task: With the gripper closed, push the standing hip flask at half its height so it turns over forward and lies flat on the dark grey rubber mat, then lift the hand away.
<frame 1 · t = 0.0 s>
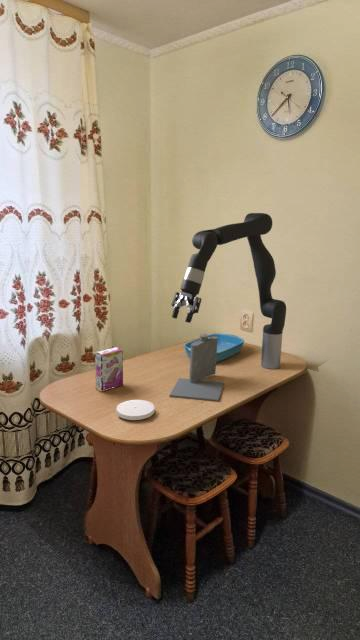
hand: (180, 320, 171), 31 cm above the table, tool tilted 20°, fingers open, 8 cm apart
hip flask: (201, 377, 194), point 1 cm above the table, touching mat
plastic lid: (135, 414, 162), on the table
casserole dish: (214, 355, 229), on the table
mat: (197, 390, 183), on the table
candy bar box: (110, 387, 185), on the table
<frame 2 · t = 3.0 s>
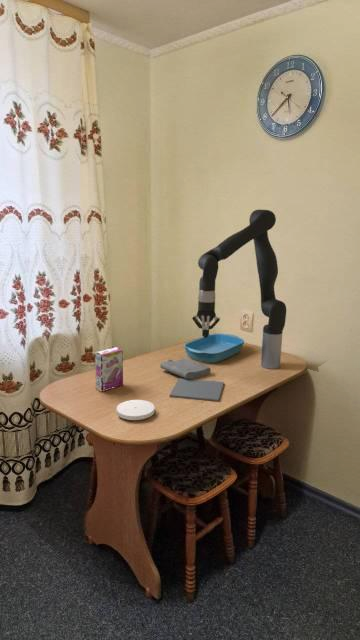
hand: (205, 337, 197), 18 cm above the table, tool pointing down, fingers closed
hip flask: (198, 374, 196), point 2 cm above the table, touching mat
everything else where it was.
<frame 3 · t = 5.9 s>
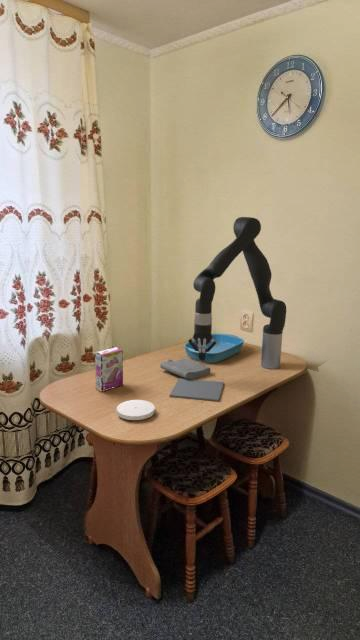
hand: (202, 360, 192), 9 cm above the table, tool pointing down, fingers closed
nothing on the table moved.
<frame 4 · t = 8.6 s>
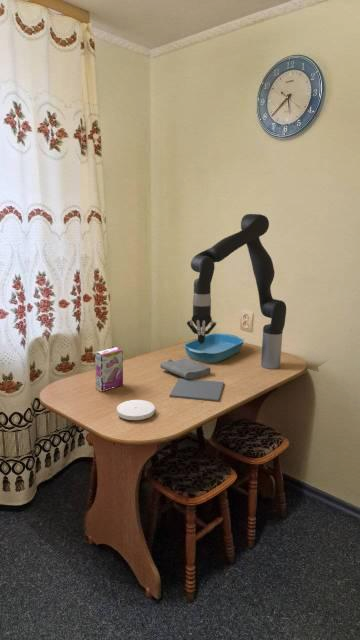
hand: (201, 343, 186), 18 cm above the table, tool pointing down, fingers closed
nothing on the table moved.
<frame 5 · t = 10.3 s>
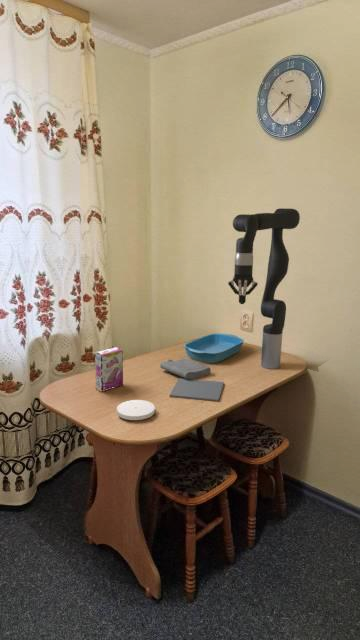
hand: (241, 303, 186), 35 cm above the table, tool pointing down, fingers closed
nothing on the table moved.
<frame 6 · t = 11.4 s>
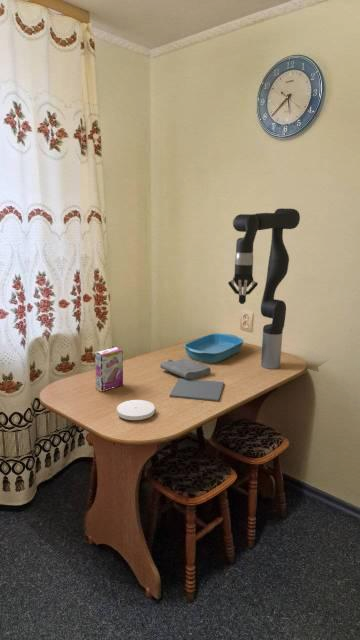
hand: (242, 303, 186), 35 cm above the table, tool pointing down, fingers closed
nothing on the table moved.
at the end: hip flask tilted 90°; hip flask touching mat, table; hip flask inside the target area (10.5 cm from its centre), point 1.9 cm above the table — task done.
